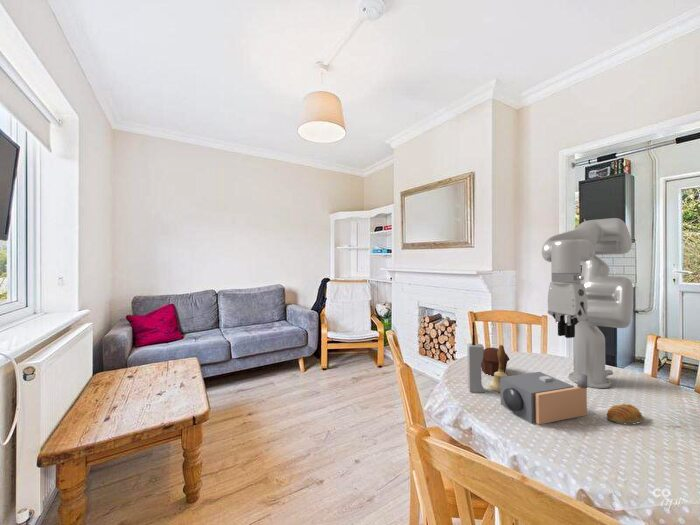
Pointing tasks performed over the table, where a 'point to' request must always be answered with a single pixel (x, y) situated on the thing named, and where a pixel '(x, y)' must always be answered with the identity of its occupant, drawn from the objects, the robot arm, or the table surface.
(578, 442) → the table surface
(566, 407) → the side door
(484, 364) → the muffin
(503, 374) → the hand bell
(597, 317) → the robot arm
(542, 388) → the cabinet body
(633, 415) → the pastry
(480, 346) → the vintage mobile phone
